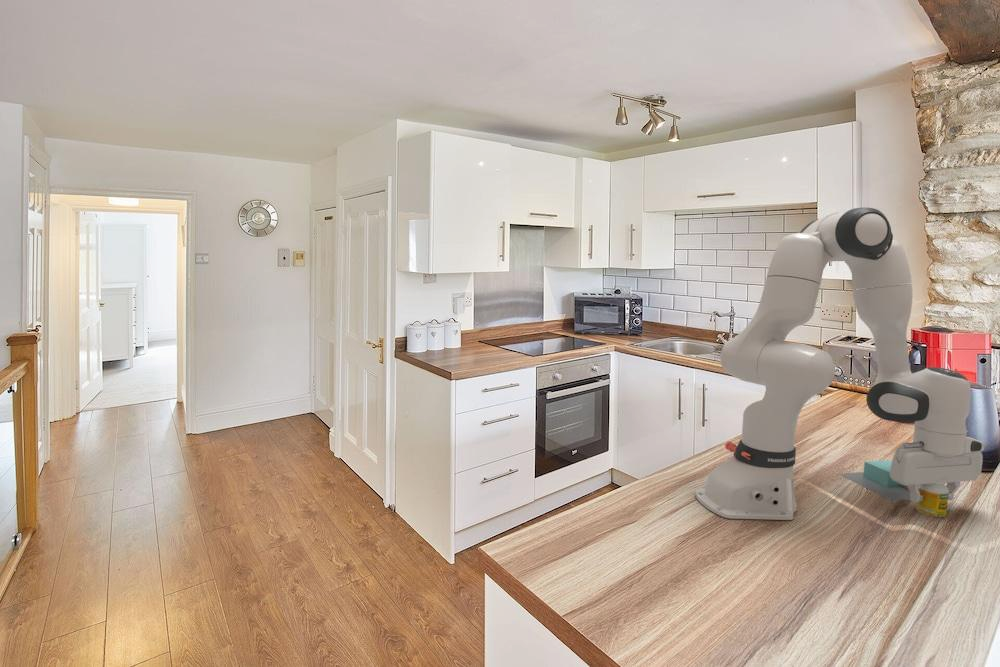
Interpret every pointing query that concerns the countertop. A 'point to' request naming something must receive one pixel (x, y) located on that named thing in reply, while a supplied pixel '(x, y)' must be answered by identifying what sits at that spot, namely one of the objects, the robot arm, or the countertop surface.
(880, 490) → the plate
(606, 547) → the countertop surface
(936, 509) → the supplement bottle
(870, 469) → the base brick
